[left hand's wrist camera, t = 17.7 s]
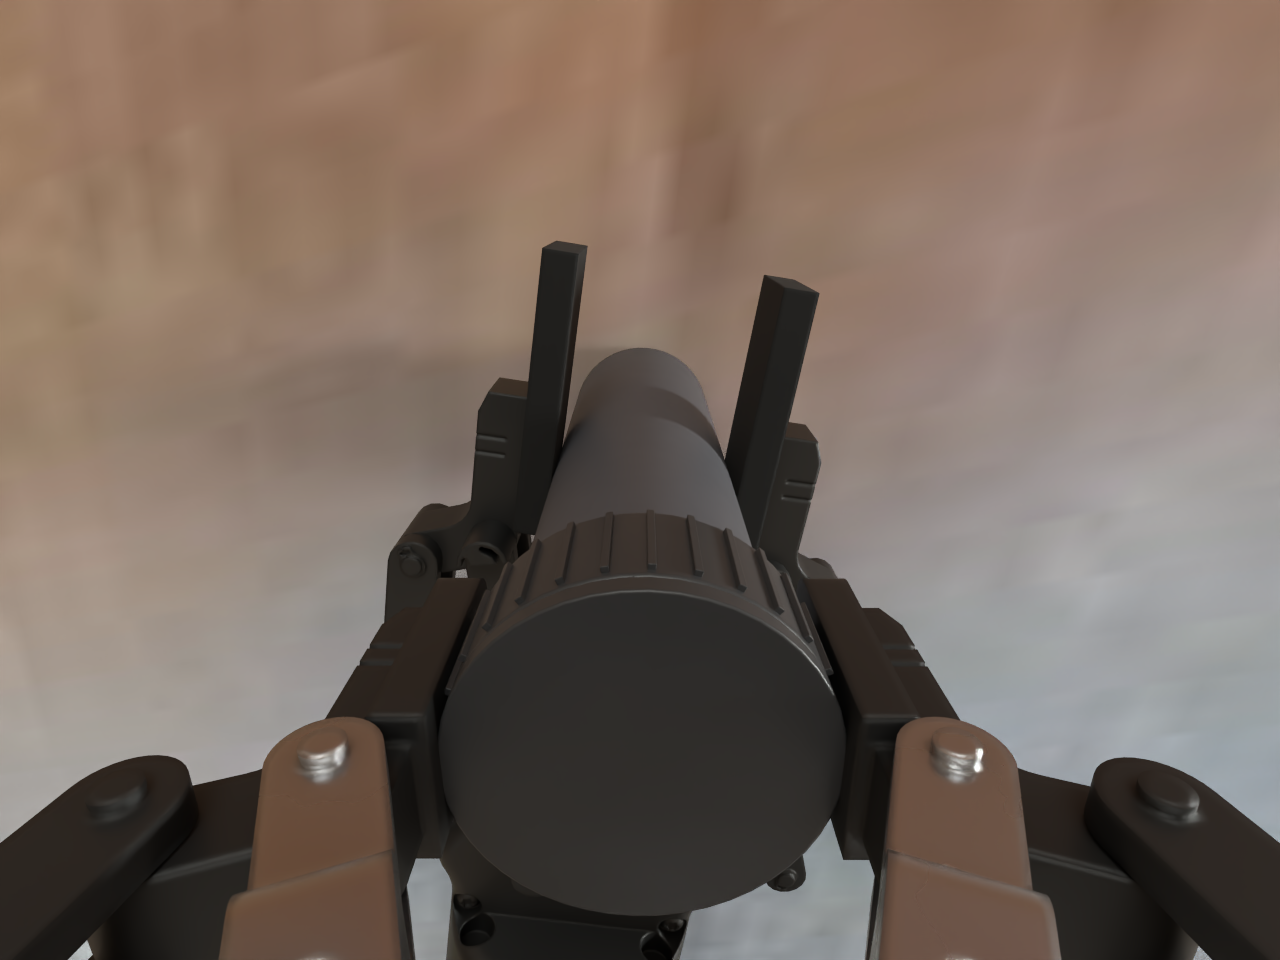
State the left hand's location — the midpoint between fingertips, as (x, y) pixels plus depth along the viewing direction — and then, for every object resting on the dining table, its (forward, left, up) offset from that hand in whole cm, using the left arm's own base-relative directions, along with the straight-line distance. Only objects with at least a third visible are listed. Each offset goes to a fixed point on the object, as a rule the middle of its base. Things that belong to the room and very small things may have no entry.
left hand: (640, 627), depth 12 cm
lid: (0, 0, +3) cm, 3 cm away
